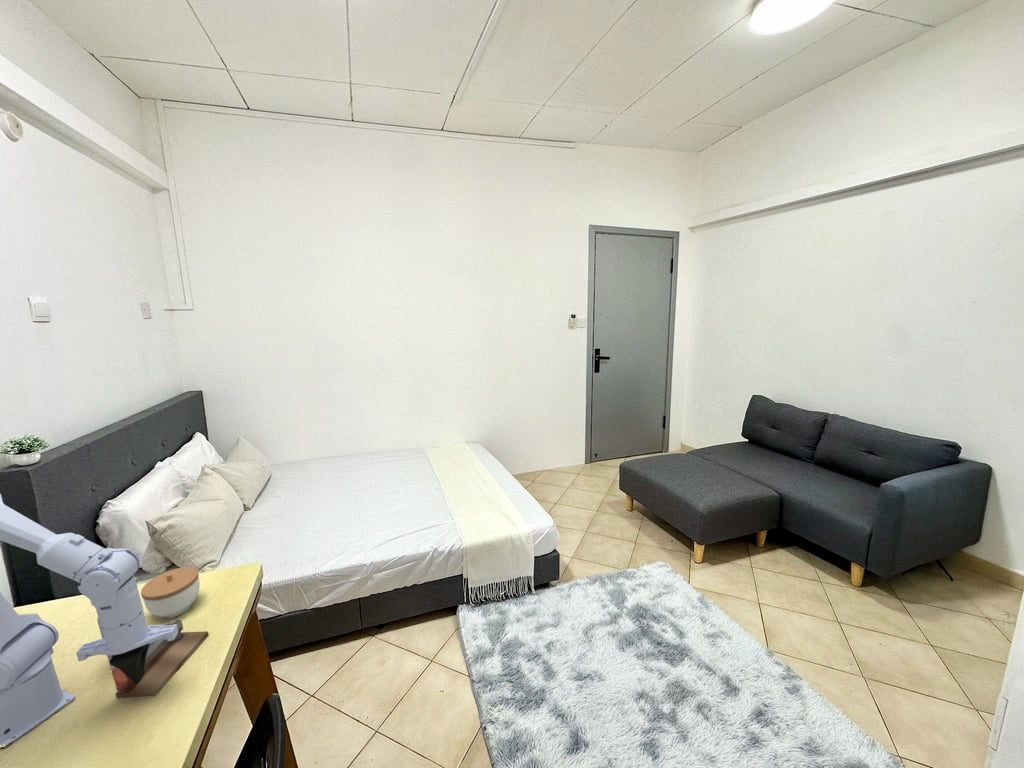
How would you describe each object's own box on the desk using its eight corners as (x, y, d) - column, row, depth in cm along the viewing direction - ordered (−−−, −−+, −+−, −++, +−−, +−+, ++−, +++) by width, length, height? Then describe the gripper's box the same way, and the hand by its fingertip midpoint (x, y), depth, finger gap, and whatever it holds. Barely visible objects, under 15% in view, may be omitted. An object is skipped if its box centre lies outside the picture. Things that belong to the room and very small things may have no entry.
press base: (176, 636, 92) (171, 617, 91) (208, 635, 92) (204, 615, 91) (116, 698, 78) (110, 676, 77) (154, 696, 78) (149, 674, 77)
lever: (172, 630, 92) (167, 613, 91) (187, 629, 92) (183, 612, 91) (110, 693, 77) (104, 674, 76) (129, 692, 77) (124, 673, 76)
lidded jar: (180, 625, 95) (172, 590, 93) (135, 626, 96) (126, 590, 94) (214, 593, 106) (207, 560, 104) (173, 593, 106) (165, 561, 104)
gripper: (179, 593, 81) (193, 651, 84) (88, 611, 77) (106, 672, 80) (160, 619, 75) (176, 681, 77) (60, 640, 71) (80, 705, 74)
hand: (139, 679), depth 78 cm, fingers closed
